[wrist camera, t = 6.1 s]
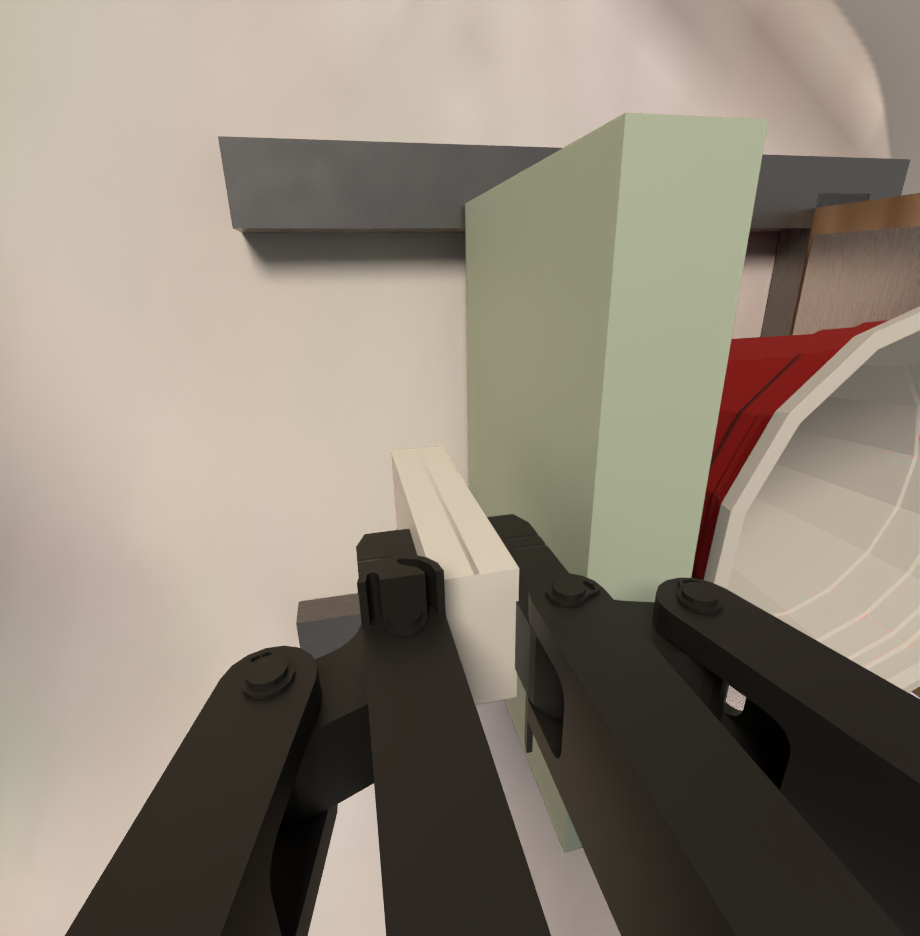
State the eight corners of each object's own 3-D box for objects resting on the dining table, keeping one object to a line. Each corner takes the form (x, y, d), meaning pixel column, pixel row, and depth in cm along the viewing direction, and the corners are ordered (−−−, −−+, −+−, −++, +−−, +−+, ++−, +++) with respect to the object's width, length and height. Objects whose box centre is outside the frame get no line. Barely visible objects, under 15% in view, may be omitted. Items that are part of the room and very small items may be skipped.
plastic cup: (540, 246, 18) (909, 210, 8) (748, 315, 23) (1172, 352, 12) (469, 519, 21) (667, 762, 11) (665, 535, 25) (946, 721, 15)
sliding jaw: (470, 614, 22) (563, 852, 13) (465, 203, 16) (625, 112, 7) (535, 604, 23) (668, 824, 14) (552, 204, 17) (801, 122, 8)
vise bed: (305, 646, 23) (279, 958, 12) (228, 148, 16) (22, -95, 6) (776, 571, 28) (1041, 748, 17) (872, 167, 21) (1406, 59, 11)
